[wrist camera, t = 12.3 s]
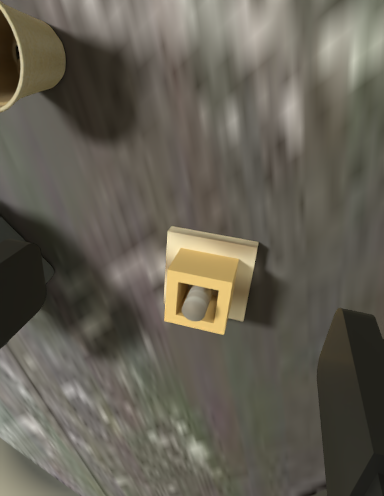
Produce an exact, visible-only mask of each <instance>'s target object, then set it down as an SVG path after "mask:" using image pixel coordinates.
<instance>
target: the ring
mask: <svg viewBox="0 0 384 496" xmlns="http://www.w3.org/2000/svg"><path fill="white" fill-rule="evenodd" d="M238 261H239V259H237V258H232V257H226V256H221V255H216V254H211V253H206V252H200V251H195V250H190V249H185V248H180V250H179V252H178V253H177V255H176V256H175V258H174V260H173V261H172V263H171V265H170V266H169V268H168V269H167V285H166V302H165V319H164V321H167V322H171V323H175V324H179V325H184V326H188V327H192V328H197V329H201V330H205V331H209V332H214V333H218V334H222V335H224V332H225V328H226V324H227V320H228V316H229V312H230V308H231V303H232V297H233V291H234V285H235V279H236V273H237V267H238ZM188 284H190V285H195V286H200V287H205V288H209V289H214V290H219V293H218V296H216V295H212V297H211V299H210V302H209V305H208V308H207V311H206V314H205V317H204V318H203V319H202V320H200V321H191V320H188V319H187V318H186V317H185V316H184V315H183V313H182V306H183V304H184V302H185V300H186V298H187V295H188V293H189V291H190V290H188Z"/></svg>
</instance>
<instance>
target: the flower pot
mask: <svg viewBox="0 0 384 496" xmlns="http://www.w3.org/2000/svg"><path fill="white" fill-rule="evenodd" d="M17 46H18V49H19V58H17V52H16V47H17ZM65 67H66V57H65V51H64V47H63V45H62V42H61V40H60V39H59V38H58V36H57V35H56V33H55V32H54V31H53V29H52V28H51V27H50V26H49V25H48V24H46V23H45V22H43V21H41V20H38V19H36V18H34V17H31V16H29V15H27V14H24V13H22V12H20V11H18V10H16V9H13V8H11V7H9V6H7V5H5V4H3V3H2V2H1V1H0V113H1V112H3V111H6V110H7V109H9V108H10V107H11V106H12V105H13V104H14V103H15V102H16V101H18V100H19V99H20V98H23V97H25V96H28V95H31V94H34V93H37V92H40V91H43V90H47V89H51V88H53V87H54V86H55V85H56V84H57V83H58V82H59V81H60V80H61V78H62V77H63V75H64V72H65Z"/></svg>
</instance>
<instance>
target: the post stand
mask: <svg viewBox="0 0 384 496" xmlns="http://www.w3.org/2000/svg"><path fill="white" fill-rule="evenodd" d="M258 243H259V242H256V241H251V240H245V239H240V238H234V237H229V236H223V235H218V234H212V233H207V232H201V231H196V230H190V229H185V228H179V227H174V226H171V228H170V229H169V230H168V235H167V253H166V271H165V289H164V304H165V302H166V285H167V269H168V268H169V266H170V265H171V263H172V261H173V260H174V258H175V256H176V255H177V253H178V252H179V250H180V248H185V249H190V250H195V251H200V252H206V253H211V254H216V255H221V256H226V257H232V258H237V259H239V261H238V267H237V273H236V279H235V285H234V291H233V297H232V303H231V308H230V312H229V316H228V318H230V319H234V320H239V321H243V320H244V315H245V310H246V305H247V300H248V295H249V290H250V284H251V279H252V274H253V269H254V264H255V259H256V254H257V249H258ZM188 290H190V291H189V293H188V295H187V298H186V300H185V302H184V304H183V306H182V313H183V315H184V316H185V317H186V318H187V319H188V320H191V321H200V320H202V319H203V318H204V317H205V314H206V311H207V308H208V305H209V302H210V299H211V297H212V295H216V296H218V293H219V290H214V289H209V288H205V287H200V286H195V285H190V284H188Z"/></svg>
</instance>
